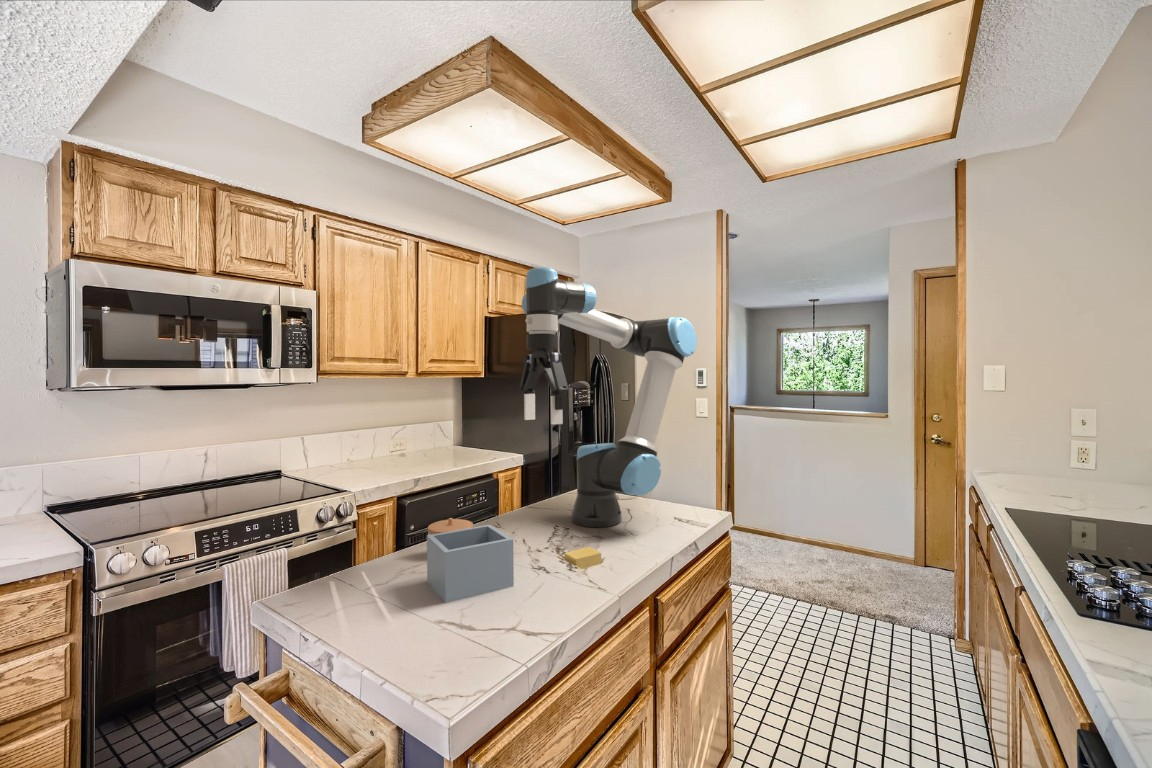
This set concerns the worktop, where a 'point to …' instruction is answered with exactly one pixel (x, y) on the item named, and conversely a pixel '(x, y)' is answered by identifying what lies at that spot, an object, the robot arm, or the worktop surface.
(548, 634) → the worktop surface
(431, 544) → the tub
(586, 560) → the lid
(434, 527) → the lidded jar
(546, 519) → the worktop surface
